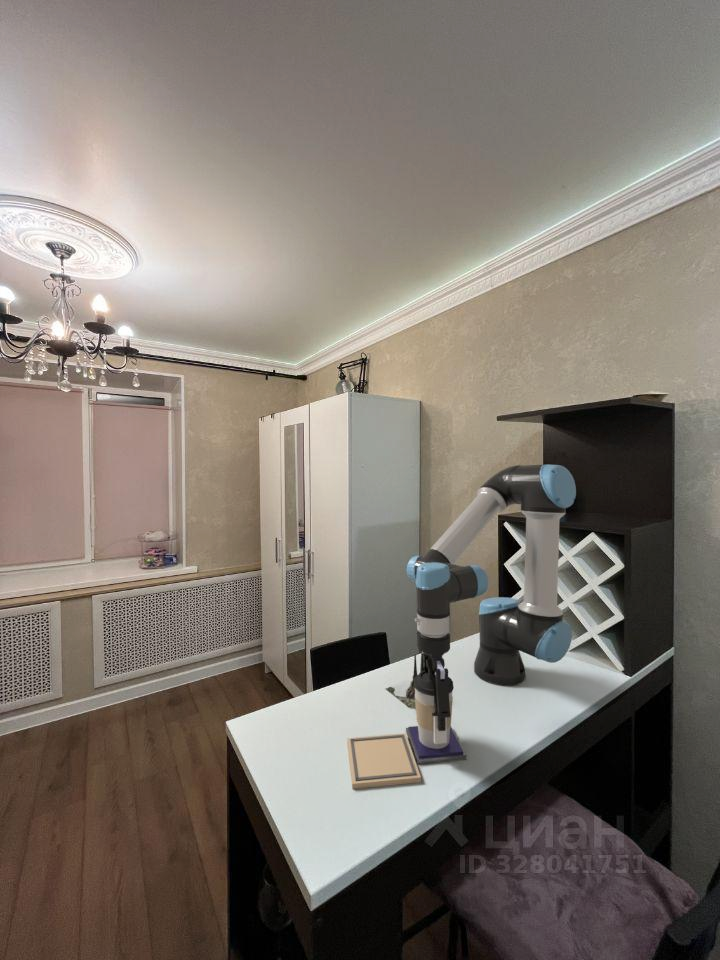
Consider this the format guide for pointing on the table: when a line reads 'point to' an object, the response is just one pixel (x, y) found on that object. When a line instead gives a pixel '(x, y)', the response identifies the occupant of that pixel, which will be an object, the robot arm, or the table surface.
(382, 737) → the square wooden board
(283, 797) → the table surface
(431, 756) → the ink pad
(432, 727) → the coffee cup
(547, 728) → the table surface
